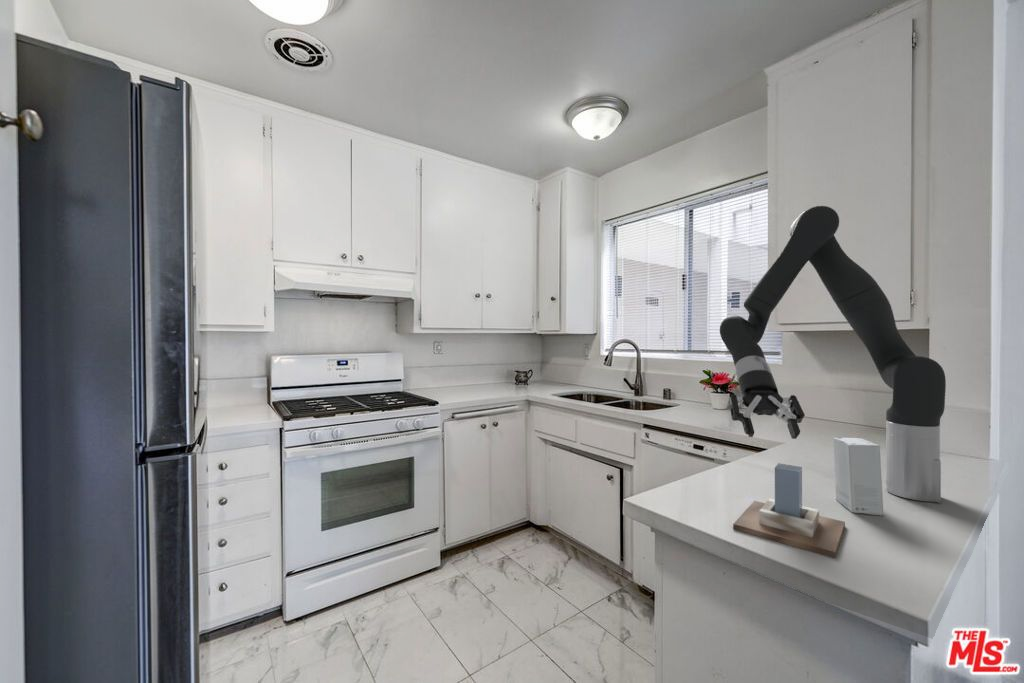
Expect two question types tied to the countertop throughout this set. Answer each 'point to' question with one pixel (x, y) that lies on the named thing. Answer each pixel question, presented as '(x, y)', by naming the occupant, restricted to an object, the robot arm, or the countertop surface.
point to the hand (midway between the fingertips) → (773, 435)
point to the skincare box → (858, 475)
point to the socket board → (792, 527)
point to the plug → (788, 490)
